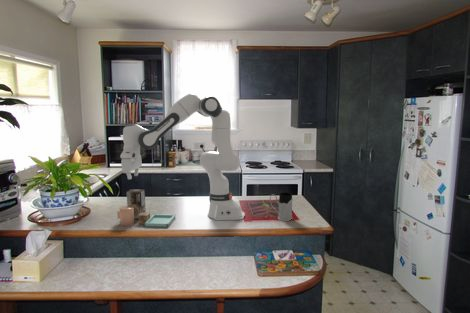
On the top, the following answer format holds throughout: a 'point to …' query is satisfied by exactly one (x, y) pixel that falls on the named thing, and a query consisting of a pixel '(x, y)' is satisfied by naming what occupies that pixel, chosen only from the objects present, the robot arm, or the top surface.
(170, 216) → the tray
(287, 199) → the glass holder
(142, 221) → the walnut block
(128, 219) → the tan ball with tab
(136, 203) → the coffee box
